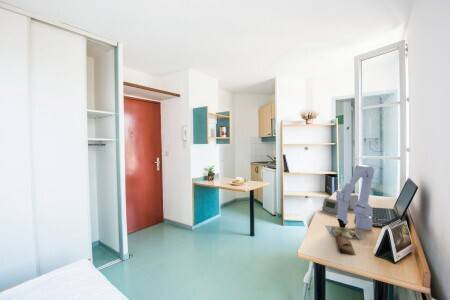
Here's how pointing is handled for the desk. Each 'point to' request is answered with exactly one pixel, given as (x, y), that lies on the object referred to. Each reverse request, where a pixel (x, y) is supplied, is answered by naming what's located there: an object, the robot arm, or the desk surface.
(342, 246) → the sunglasses case
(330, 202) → the digital clock
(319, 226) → the desk surface
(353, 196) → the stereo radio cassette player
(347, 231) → the panel
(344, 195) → the robot arm
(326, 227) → the keyhole board
